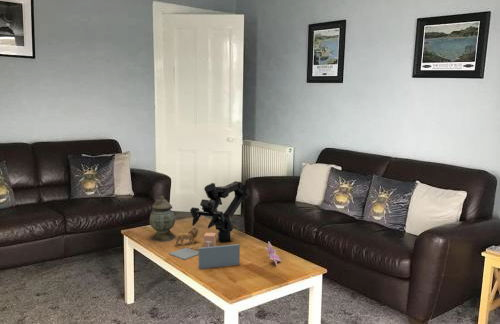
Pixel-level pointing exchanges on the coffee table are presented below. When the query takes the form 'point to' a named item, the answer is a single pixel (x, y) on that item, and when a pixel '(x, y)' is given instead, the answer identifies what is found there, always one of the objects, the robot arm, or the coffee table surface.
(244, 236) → the coffee table surface
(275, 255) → the lily
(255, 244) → the coffee table surface
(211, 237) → the salmon pink tall block
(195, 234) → the lion figurine
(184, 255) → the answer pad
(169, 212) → the lidded urn
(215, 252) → the screen
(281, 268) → the coffee table surface
